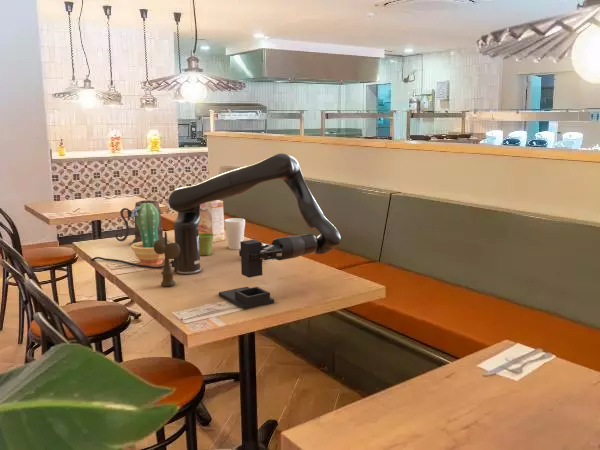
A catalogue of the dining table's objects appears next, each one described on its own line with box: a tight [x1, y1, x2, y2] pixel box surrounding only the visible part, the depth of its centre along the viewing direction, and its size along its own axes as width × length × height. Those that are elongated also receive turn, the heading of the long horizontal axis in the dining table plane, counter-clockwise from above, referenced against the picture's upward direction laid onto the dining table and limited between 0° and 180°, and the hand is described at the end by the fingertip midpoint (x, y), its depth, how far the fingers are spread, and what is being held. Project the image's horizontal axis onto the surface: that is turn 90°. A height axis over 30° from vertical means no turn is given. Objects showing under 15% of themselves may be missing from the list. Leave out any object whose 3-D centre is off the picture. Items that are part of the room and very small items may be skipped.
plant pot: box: [199, 233, 214, 256], centre depth 252 cm, size 9×9×9 cm
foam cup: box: [224, 217, 246, 250], centre depth 264 cm, size 10×9×13 cm
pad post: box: [240, 239, 263, 279], centre depth 186 cm, size 5×5×11 cm
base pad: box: [218, 286, 275, 310], centre depth 192 cm, size 18×11×4 cm, turn 37°
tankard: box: [114, 199, 165, 246], centre depth 270 cm, size 24×17×20 cm
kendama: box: [154, 231, 180, 288], centre depth 205 cm, size 6×10×20 cm, turn 43°
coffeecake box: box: [199, 200, 226, 243], centre depth 282 cm, size 15×7×20 cm, turn 43°
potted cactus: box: [130, 203, 170, 266], centre depth 235 cm, size 15×15×25 cm
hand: (244, 255), depth 184 cm, fingers closed on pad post, 5 cm apart
